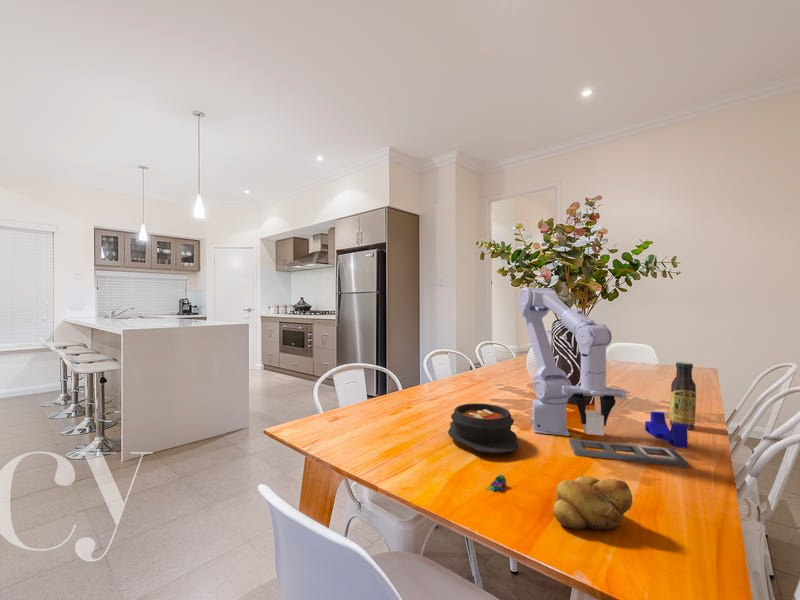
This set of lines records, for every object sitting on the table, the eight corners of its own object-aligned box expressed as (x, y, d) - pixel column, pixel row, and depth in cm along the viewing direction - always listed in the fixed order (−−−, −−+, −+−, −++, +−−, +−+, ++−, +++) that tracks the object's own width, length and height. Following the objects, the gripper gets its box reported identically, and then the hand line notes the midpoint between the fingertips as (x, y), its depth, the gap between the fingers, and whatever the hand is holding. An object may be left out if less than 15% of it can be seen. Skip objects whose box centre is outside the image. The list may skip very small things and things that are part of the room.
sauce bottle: (673, 428, 108) (673, 363, 109) (666, 422, 114) (666, 360, 114) (699, 431, 106) (699, 365, 106) (691, 425, 112) (691, 361, 112)
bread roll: (568, 541, 57) (568, 491, 57) (536, 506, 67) (536, 464, 67) (639, 533, 59) (639, 485, 59) (599, 501, 69) (598, 459, 69)
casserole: (537, 457, 88) (538, 423, 88) (466, 463, 85) (466, 428, 85) (493, 423, 113) (493, 397, 113) (436, 427, 109) (436, 399, 109)
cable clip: (645, 431, 107) (645, 411, 107) (661, 432, 106) (661, 411, 106) (668, 447, 95) (668, 424, 95) (687, 448, 94) (687, 425, 94)
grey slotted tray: (574, 455, 89) (574, 449, 89) (569, 443, 97) (569, 437, 97) (688, 467, 83) (688, 461, 83) (672, 453, 90) (672, 447, 90)
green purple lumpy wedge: (493, 483, 76) (493, 472, 76) (506, 487, 74) (506, 476, 74) (484, 491, 73) (484, 479, 73) (497, 496, 71) (497, 484, 71)
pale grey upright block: (586, 433, 91) (586, 414, 91) (582, 428, 94) (582, 409, 94) (603, 435, 89) (603, 415, 89) (599, 430, 93) (599, 410, 93)
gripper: (565, 372, 90) (565, 426, 90) (630, 376, 86) (630, 432, 86) (560, 367, 97) (560, 417, 97) (621, 370, 93) (621, 422, 93)
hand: (593, 424), depth 92 cm, fingers closed on pale grey upright block, 4 cm apart
